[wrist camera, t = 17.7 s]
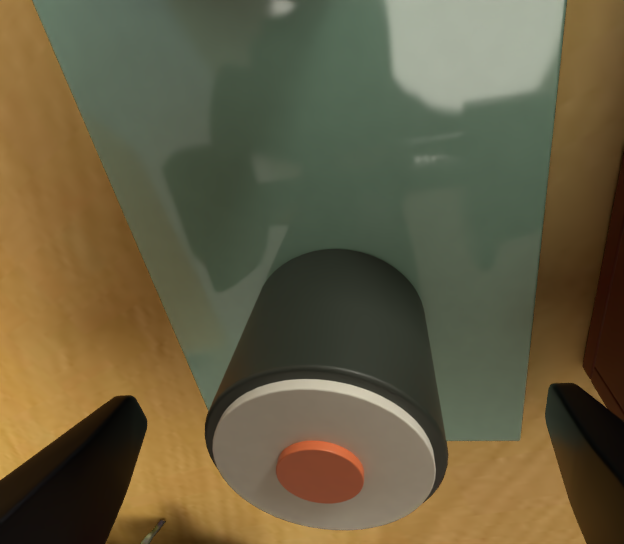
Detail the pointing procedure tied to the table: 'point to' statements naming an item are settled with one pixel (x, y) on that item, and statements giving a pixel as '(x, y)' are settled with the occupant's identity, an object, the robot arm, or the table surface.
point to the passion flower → (153, 533)
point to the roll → (331, 397)
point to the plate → (331, 162)
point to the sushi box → (609, 315)
